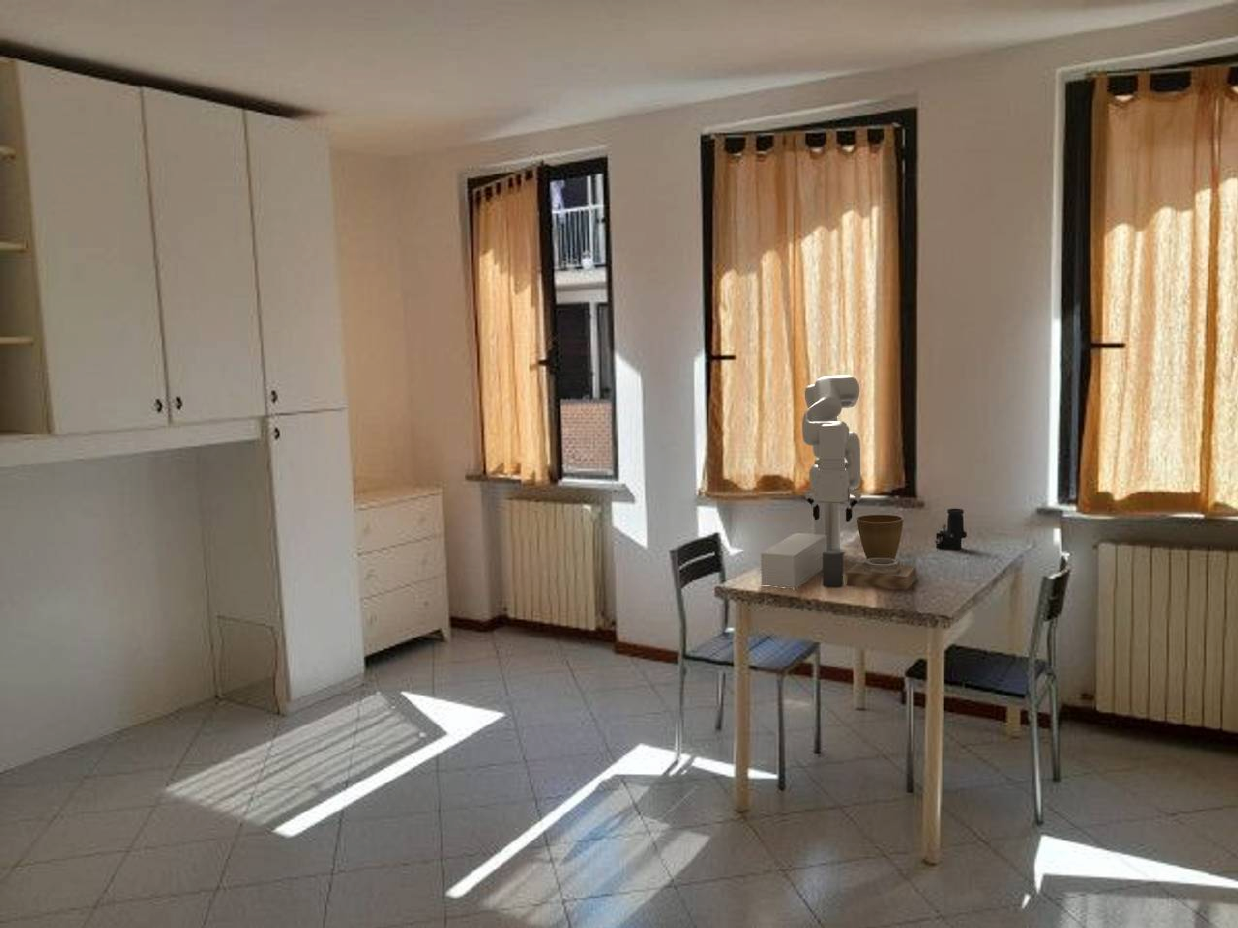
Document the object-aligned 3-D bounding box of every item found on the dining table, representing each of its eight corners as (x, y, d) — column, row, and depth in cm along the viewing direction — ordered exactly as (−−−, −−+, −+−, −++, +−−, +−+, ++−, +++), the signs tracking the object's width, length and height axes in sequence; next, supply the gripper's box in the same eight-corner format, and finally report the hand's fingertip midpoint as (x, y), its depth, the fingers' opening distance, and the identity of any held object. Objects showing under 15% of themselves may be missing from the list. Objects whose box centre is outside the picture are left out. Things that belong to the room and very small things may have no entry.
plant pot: (904, 561, 324) (904, 514, 322) (901, 572, 310) (901, 523, 308) (859, 559, 329) (859, 513, 327) (854, 569, 315) (854, 521, 313)
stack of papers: (795, 564, 327) (795, 532, 326) (826, 566, 322) (826, 534, 320) (761, 586, 299) (760, 552, 298) (794, 590, 294) (794, 555, 293)
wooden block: (846, 585, 297) (846, 564, 296) (857, 574, 309) (857, 554, 308) (907, 590, 289) (907, 568, 288) (915, 578, 301) (915, 558, 300)
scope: (942, 506, 345) (970, 508, 339) (942, 544, 347) (970, 547, 341) (934, 510, 338) (963, 512, 332) (934, 549, 340) (962, 552, 334)
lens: (820, 586, 296) (820, 553, 295) (826, 581, 302) (825, 549, 300) (840, 588, 294) (840, 555, 292) (845, 583, 299) (845, 551, 298)
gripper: (800, 465, 294) (801, 521, 296) (857, 467, 286) (858, 524, 288) (807, 462, 300) (808, 516, 302) (863, 463, 292) (864, 519, 294)
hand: (832, 520), depth 295 cm, fingers open, 9 cm apart
